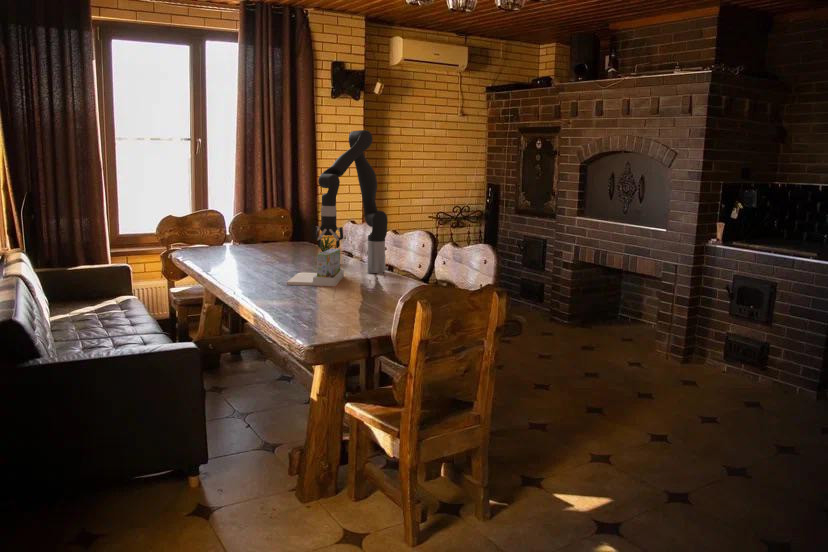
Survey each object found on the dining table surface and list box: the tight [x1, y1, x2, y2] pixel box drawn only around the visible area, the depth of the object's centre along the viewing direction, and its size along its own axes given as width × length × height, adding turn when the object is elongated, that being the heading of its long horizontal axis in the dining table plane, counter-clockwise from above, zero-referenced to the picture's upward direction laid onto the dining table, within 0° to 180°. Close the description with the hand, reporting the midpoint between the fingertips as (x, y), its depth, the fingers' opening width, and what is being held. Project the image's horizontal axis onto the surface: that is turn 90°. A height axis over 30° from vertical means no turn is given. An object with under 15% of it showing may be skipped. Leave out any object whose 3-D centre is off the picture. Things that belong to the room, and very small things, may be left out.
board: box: [286, 271, 317, 286], centre depth 347 cm, size 12×26×2 cm, turn 176°
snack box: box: [316, 248, 341, 278], centre depth 345 cm, size 21×6×15 cm, turn 168°
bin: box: [312, 268, 345, 287], centre depth 346 cm, size 11×26×4 cm, turn 176°
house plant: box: [315, 235, 336, 253], centre depth 395 cm, size 14×14×16 cm
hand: (328, 247), depth 343 cm, fingers open, 8 cm apart
